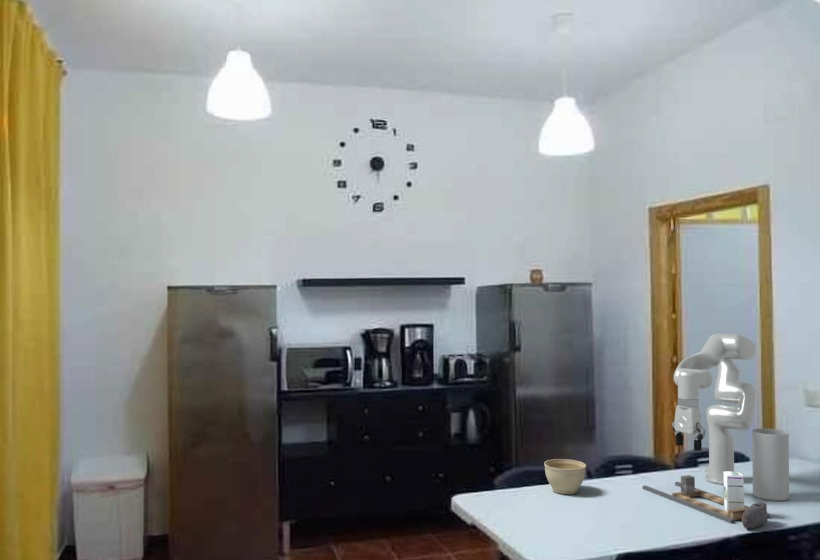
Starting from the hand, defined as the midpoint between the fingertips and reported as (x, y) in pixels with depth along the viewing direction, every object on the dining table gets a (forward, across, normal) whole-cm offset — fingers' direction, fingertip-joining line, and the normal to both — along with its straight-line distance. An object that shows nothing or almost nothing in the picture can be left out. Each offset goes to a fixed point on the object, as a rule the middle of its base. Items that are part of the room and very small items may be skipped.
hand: (688, 447), depth 274 cm
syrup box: (+19, +23, 0) cm, 30 cm away
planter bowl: (+20, -24, -40) cm, 50 cm away
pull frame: (+19, +14, 0) cm, 23 cm away
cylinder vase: (+19, +11, +30) cm, 37 cm away
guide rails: (+19, +7, 0) cm, 20 cm away
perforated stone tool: (+20, +35, -4) cm, 40 cm away
